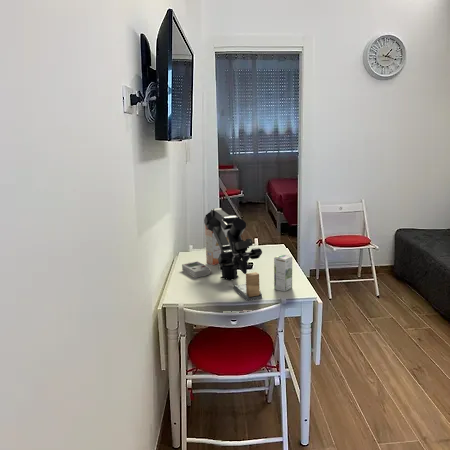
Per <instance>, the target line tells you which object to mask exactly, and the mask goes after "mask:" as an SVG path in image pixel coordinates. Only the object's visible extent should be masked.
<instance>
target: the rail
mask: <svg viewBox="0 0 450 450" xmlns="http://www.w3.org/2000/svg"><path fill="white" fill-rule="evenodd" d="M233 290H234V291H236V292H237V293H238V294H239V295H240V296H241V297H243V298H244V299H245V300H246V301H247V302H251V301H256V300H261V299H263V293H262V292H261V290H260V295H258V296H252V297H249V296H248V295H247V292H246V283H244V284H243V283H242V284H235V283H234V284H233Z"/></svg>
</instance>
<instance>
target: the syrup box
mask: <svg viewBox="0 0 450 450" xmlns="http://www.w3.org/2000/svg"><path fill="white" fill-rule="evenodd" d="M273 277H274V281H273V284H274V285H273V287H274V288H273V289H274V290H276V291H282V292H287V291H289V290H290V289H292V288H293V256H292V255H287V254H282V253H281V254H280V255H276V256H275V257H274V258H273Z"/></svg>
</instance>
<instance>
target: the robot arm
mask: <svg viewBox="0 0 450 450" xmlns="http://www.w3.org/2000/svg"><path fill="white" fill-rule="evenodd" d="M203 224H204V226H205V225H206V226H207V228H208V229H209V230H211V231H212V232H213V233H214V236H215V238H216V240H217V242H218V244H219V247H220V249H221V254H220V256H219V258H218V262H219V264H218V266H220V267H221V275H222V276H220V277H219V278H220V279H221V280H227V281H233V280H235V279H237V278H239V275H238V269H239V270H240V271H241V272H242V274H243V275H246V274H247V272H248V261H249V259H251V260H257V259H259V258H260V257H261V255H263V251H262V248H260V247H255V248H251V250H250V251H248V249H249V248H250V247H252V246H253V241H252V238H251V237H250V238H246V239H245V240H244V239H242V235H243V233H244V231H245V229H246V227H247V222H246V221H245V220H243V219H242V218H240V216H237V215H234V214H228V213H227V212H226V211H224V210H223V209H222V208H221V207H216V208H215V207H214V208H212V209H211V210H210V211H209V212H208V213H206V214H205V217H204V223H203ZM221 226H222V227H221ZM222 228H223V229H224V230H226V229H230V230H229V231H228V232H227V238H228V240H229V242H228V240H227V238H226V236H225V234H224V232H223V229H222ZM229 243H230V244H229Z"/></svg>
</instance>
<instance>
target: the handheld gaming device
mask: <svg viewBox="0 0 450 450" xmlns="http://www.w3.org/2000/svg"><path fill="white" fill-rule="evenodd" d="M181 268H182V272H184V273H186V274H188V275H190V276H192V277H193V278H195V279H196V278H202V277H205V276H206V277H207V276H209V275H211V269H210V267H209V266H207V265H205V264H203V263H201V262H199V261H198V260H197V261H192V262H188V263H183V264H181Z"/></svg>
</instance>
